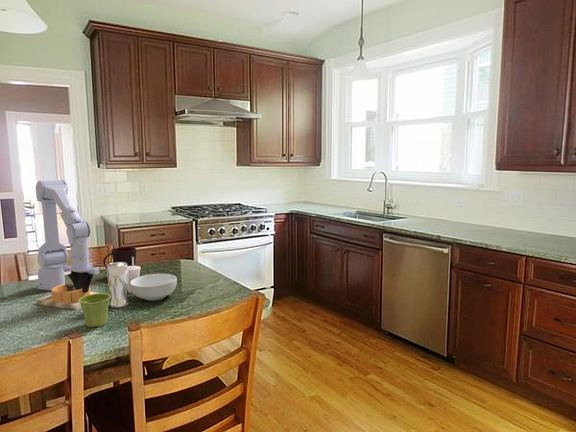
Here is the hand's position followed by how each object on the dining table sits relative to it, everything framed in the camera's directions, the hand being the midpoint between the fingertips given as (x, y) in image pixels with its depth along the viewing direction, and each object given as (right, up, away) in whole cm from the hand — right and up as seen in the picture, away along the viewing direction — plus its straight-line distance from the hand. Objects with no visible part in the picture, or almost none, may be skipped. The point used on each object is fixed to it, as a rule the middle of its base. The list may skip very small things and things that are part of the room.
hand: (82, 291), depth 157 cm
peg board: (-5, -4, +2) cm, 7 cm away
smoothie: (+14, -2, +13) cm, 19 cm away
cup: (+1, +1, +34) cm, 34 cm away
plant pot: (+14, -7, -20) cm, 25 cm away
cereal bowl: (+25, -3, +6) cm, 25 cm away
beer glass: (+14, -5, -2) cm, 15 cm away
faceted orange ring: (-5, -2, +2) cm, 6 cm away
